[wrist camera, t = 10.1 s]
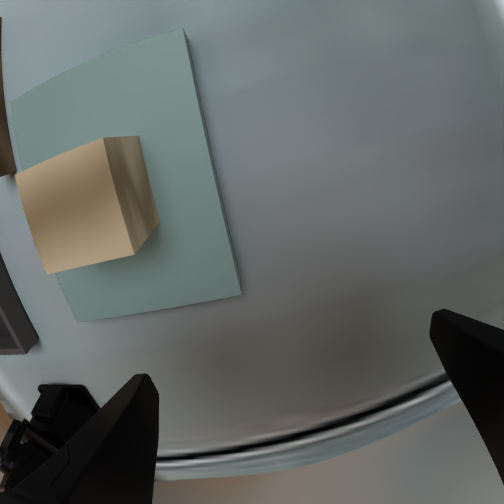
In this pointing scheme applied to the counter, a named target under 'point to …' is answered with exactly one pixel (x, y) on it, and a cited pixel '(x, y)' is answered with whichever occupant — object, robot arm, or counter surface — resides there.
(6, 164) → the cubby
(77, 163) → the beech cube
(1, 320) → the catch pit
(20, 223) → the counter surface
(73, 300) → the platform
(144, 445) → the robot arm
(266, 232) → the counter surface
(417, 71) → the counter surface
